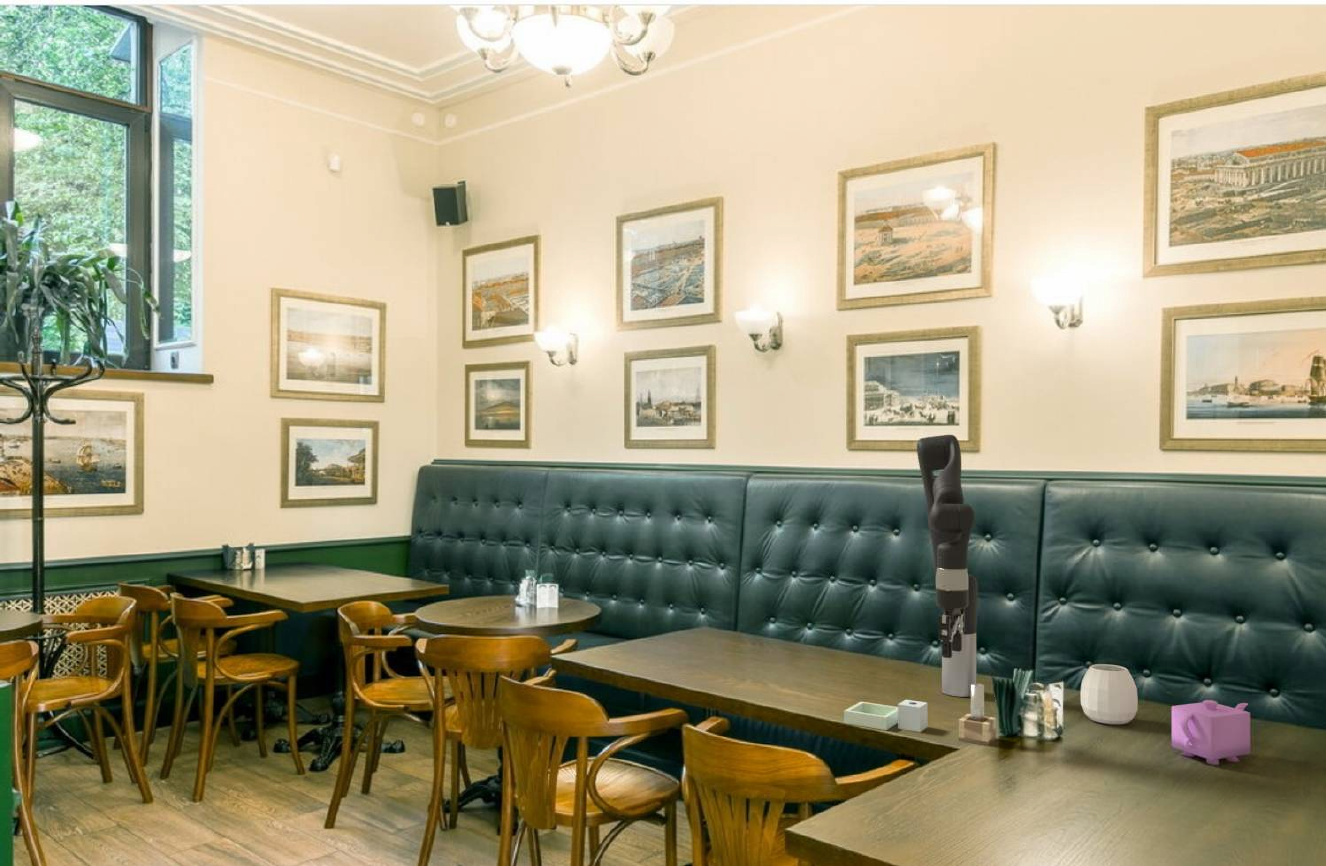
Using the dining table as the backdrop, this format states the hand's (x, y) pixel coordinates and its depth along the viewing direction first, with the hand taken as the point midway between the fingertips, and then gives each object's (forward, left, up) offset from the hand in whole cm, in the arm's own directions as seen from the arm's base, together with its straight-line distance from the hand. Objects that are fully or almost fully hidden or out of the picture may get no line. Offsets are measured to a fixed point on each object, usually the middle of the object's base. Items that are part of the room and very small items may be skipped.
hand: (952, 654), depth 239 cm
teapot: (-16, +54, -19) cm, 60 cm away
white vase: (-34, +29, -19) cm, 49 cm away
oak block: (+1, +6, -19) cm, 20 cm away
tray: (0, -20, -19) cm, 27 cm away
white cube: (0, -10, -19) cm, 22 cm away
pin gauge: (+1, +6, -18) cm, 19 cm away
